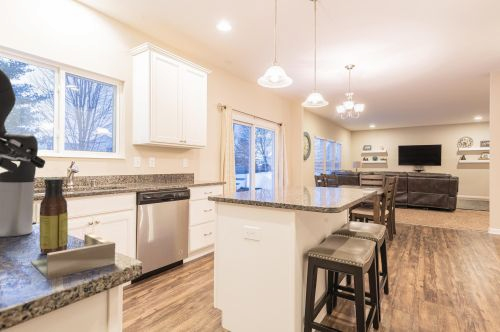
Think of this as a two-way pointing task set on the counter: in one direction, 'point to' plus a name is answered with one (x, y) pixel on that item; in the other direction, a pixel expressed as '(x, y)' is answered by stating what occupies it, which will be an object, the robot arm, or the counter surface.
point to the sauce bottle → (53, 218)
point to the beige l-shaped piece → (78, 258)
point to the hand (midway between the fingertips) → (29, 166)
